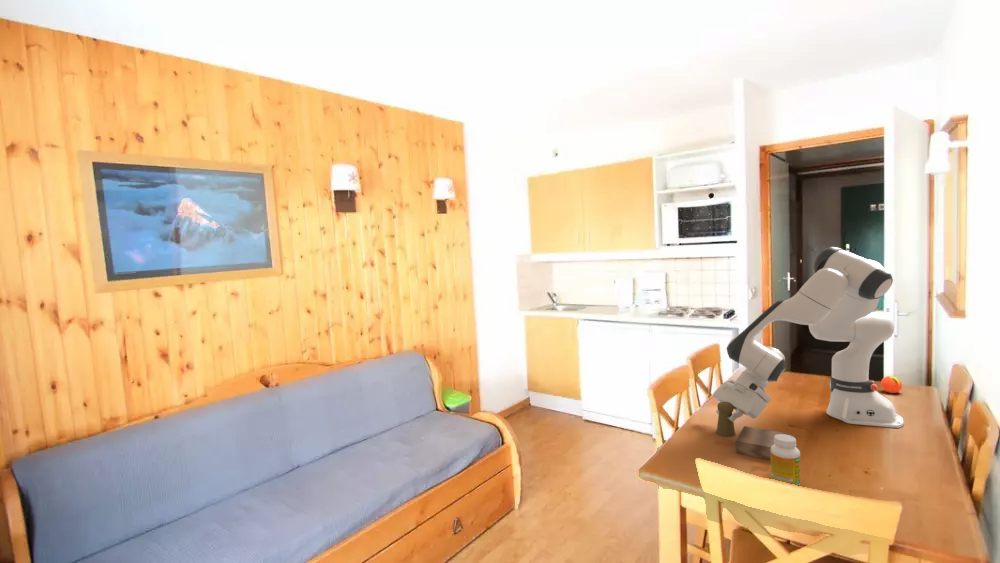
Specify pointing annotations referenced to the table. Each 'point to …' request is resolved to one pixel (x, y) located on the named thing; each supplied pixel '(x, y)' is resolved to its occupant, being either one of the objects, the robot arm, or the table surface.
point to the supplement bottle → (785, 459)
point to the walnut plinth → (756, 442)
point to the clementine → (891, 384)
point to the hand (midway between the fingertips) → (724, 417)
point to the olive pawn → (725, 420)
